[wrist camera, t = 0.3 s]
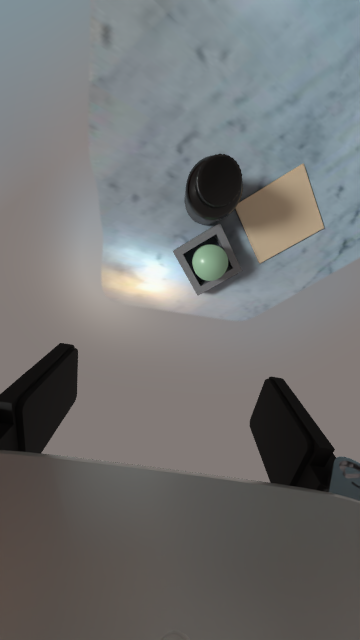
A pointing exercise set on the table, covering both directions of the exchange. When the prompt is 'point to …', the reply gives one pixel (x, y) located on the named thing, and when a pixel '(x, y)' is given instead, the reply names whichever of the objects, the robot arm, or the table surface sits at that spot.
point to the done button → (210, 262)
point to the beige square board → (280, 214)
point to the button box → (223, 243)
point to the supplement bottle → (213, 189)
